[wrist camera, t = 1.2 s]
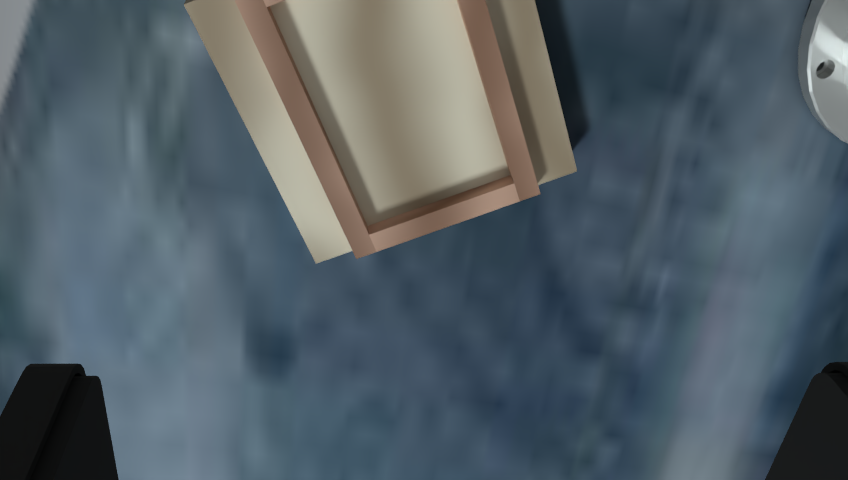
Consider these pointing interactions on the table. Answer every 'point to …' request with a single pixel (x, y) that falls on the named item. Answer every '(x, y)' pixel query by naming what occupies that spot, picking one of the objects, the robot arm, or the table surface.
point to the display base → (390, 110)
